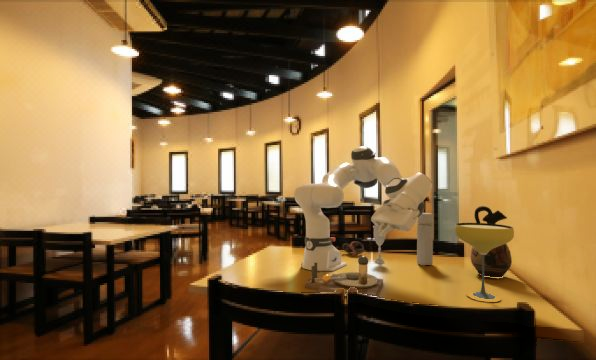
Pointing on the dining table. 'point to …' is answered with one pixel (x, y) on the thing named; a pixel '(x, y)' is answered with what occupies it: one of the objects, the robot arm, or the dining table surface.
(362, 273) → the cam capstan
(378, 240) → the chalice
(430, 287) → the dining table surface
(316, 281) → the stand
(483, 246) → the cocktail glass
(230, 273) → the dining table surface
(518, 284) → the dining table surface
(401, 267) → the dining table surface
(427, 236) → the water bottle
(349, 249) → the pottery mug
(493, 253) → the ceramic jug
